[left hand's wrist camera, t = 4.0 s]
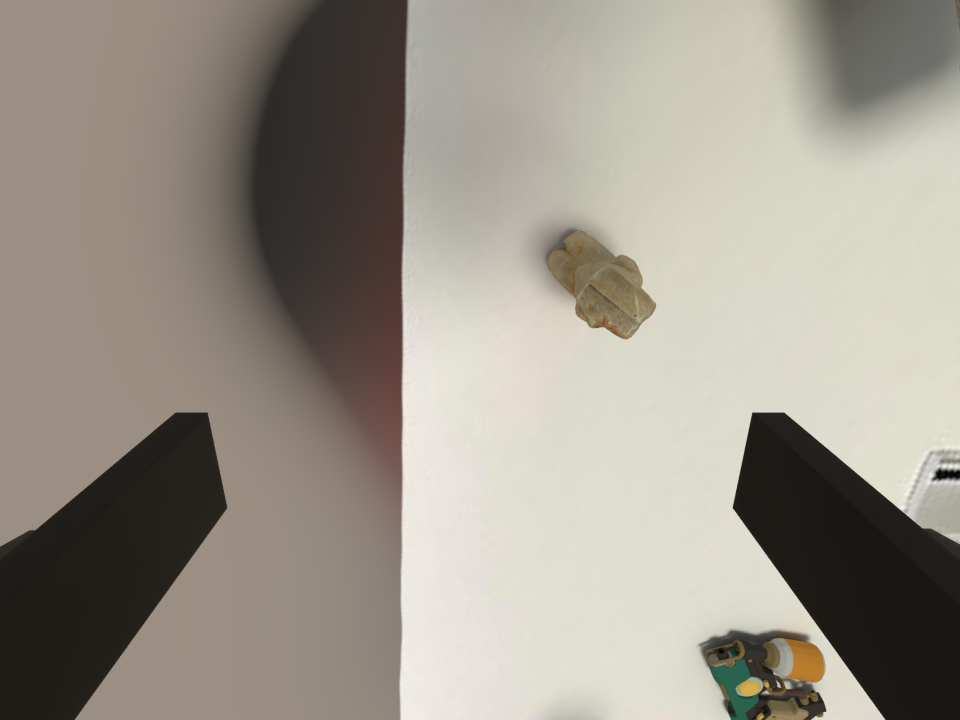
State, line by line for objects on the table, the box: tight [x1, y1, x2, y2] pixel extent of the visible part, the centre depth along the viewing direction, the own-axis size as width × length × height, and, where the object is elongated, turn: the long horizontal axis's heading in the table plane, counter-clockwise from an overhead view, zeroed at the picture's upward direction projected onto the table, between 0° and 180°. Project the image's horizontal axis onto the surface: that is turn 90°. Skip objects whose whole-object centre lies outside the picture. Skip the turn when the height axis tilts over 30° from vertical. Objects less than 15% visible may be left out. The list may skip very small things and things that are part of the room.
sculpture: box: [547, 231, 656, 339], centre depth 42 cm, size 6×7×15 cm
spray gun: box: [705, 638, 826, 720], centre depth 66 cm, size 4×17×15 cm
